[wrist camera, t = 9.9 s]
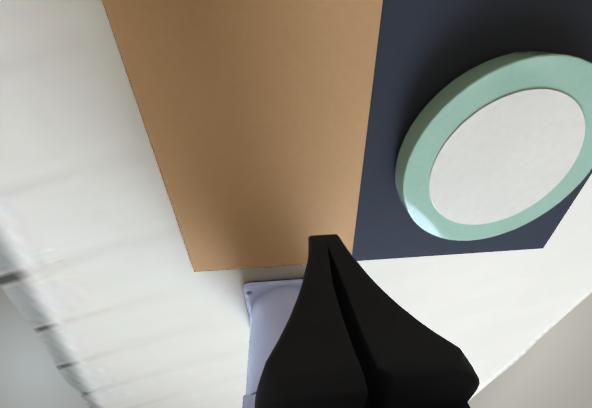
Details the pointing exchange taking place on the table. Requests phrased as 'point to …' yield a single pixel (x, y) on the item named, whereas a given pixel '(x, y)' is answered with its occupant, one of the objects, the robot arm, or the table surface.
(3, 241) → the table surface
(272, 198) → the desk mat
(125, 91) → the table surface
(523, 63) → the plate
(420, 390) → the robot arm
